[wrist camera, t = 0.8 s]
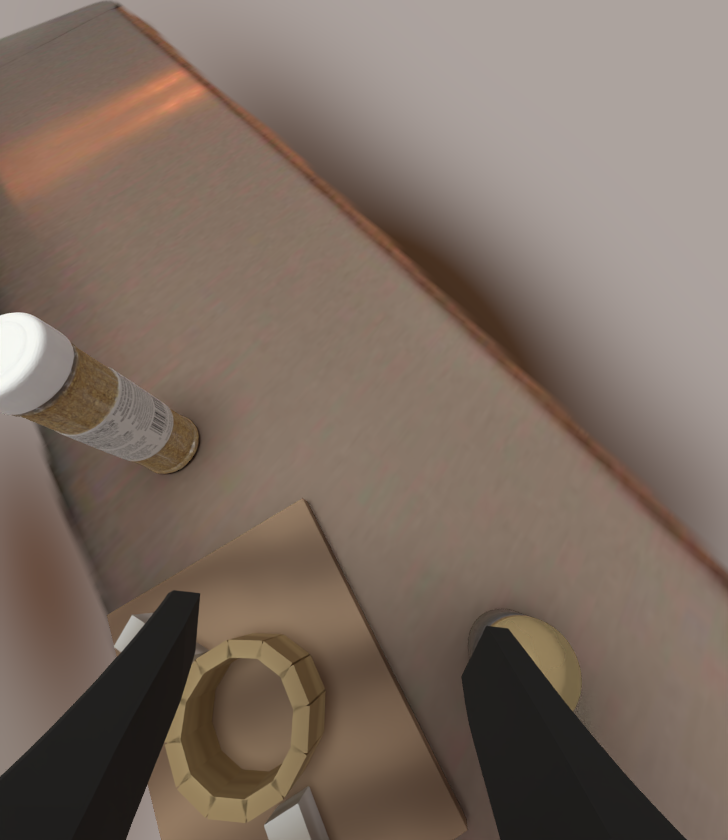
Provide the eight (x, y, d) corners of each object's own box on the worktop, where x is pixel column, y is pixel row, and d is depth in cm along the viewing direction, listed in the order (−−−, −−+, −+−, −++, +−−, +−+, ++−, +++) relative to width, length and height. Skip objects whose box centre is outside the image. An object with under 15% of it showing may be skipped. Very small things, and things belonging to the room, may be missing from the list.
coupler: (561, 666, 22) (604, 694, 16) (497, 708, 21) (518, 750, 16) (513, 594, 23) (537, 597, 18) (453, 632, 23) (458, 647, 17)
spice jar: (154, 416, 32) (-26, 308, 19) (208, 418, 31) (55, 307, 18) (136, 474, 30) (-74, 397, 18) (193, 478, 29) (13, 399, 17)
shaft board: (466, 818, 20) (473, 871, 16) (212, 986, 19) (160, 1081, 15) (307, 501, 27) (286, 488, 23) (118, 614, 26) (66, 619, 23)
